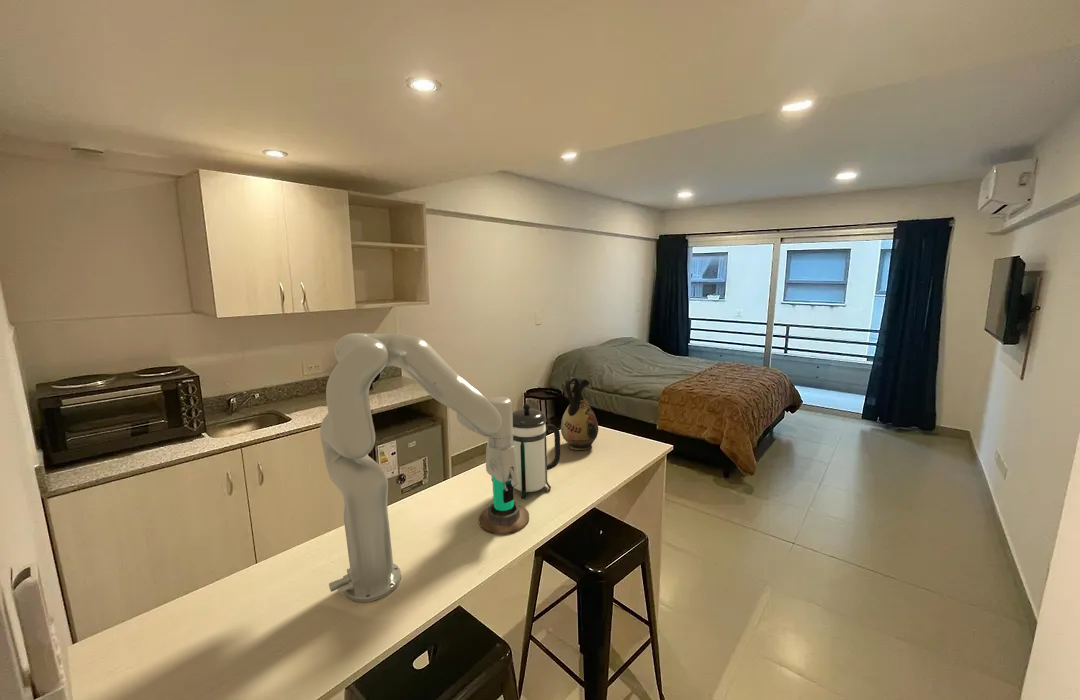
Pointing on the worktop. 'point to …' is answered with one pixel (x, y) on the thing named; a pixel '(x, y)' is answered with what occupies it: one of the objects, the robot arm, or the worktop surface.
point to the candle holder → (503, 519)
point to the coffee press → (532, 449)
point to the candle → (500, 496)
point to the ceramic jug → (578, 417)
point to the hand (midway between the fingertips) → (503, 496)
